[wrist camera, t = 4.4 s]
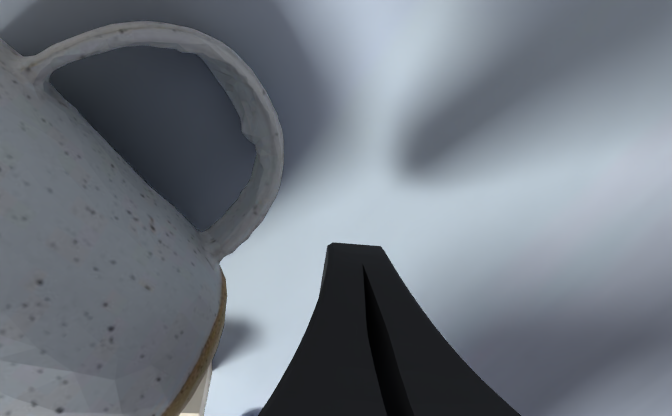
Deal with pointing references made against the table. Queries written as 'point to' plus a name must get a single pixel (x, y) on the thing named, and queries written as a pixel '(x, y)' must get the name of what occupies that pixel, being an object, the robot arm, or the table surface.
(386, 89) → the table surface
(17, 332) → the ceramic mug
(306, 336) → the robot arm
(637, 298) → the table surface
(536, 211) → the table surface
